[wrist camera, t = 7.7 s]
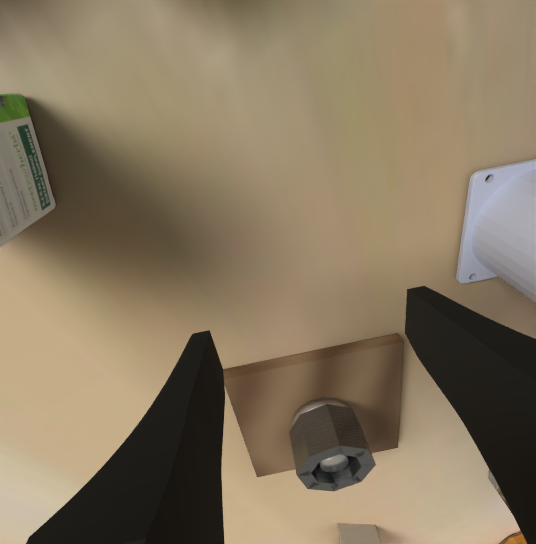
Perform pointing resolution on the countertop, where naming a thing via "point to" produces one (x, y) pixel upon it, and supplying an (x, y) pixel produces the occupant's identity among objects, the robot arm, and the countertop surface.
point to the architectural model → (358, 534)
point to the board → (317, 396)
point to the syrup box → (20, 170)
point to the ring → (330, 447)
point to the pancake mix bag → (515, 539)
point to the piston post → (335, 461)
